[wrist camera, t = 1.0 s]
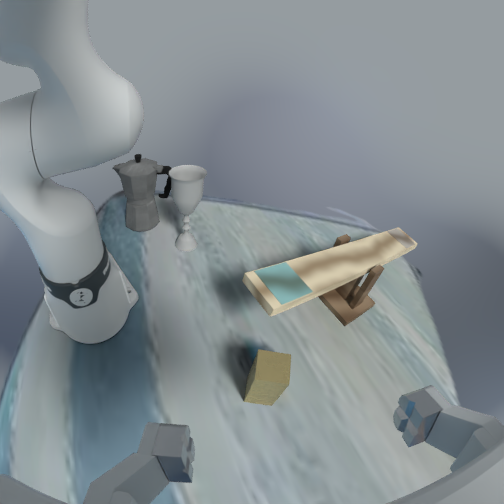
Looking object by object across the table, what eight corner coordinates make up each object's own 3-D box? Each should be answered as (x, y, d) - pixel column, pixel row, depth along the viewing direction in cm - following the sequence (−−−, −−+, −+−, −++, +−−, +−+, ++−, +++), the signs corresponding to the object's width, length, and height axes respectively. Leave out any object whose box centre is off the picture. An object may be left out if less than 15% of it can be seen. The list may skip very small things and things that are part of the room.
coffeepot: (112, 229, 62) (102, 162, 50) (125, 207, 69) (120, 145, 57) (171, 236, 64) (170, 166, 52) (179, 213, 71) (181, 149, 59)
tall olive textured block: (243, 401, 39) (254, 379, 32) (247, 377, 42) (258, 349, 35) (271, 405, 39) (289, 384, 32) (274, 381, 42) (291, 354, 35)
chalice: (171, 255, 59) (169, 182, 47) (169, 235, 64) (168, 165, 52) (204, 253, 61) (209, 180, 49) (199, 233, 66) (204, 164, 54)
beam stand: (302, 279, 60) (319, 236, 52) (332, 265, 65) (350, 225, 57) (344, 326, 52) (371, 286, 44) (372, 306, 57) (398, 268, 49)
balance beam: (242, 280, 40) (244, 272, 39) (395, 232, 68) (398, 227, 67) (270, 316, 36) (273, 309, 35) (414, 248, 64) (417, 243, 63)
